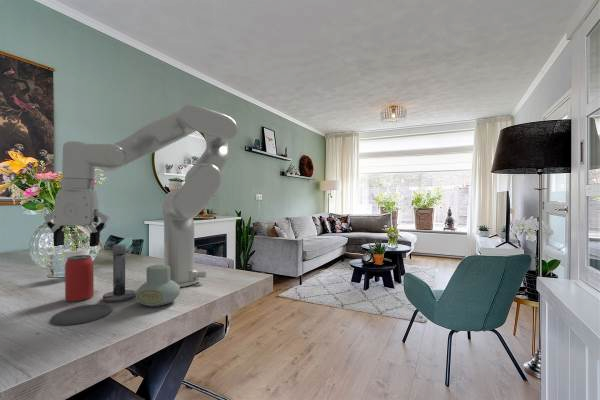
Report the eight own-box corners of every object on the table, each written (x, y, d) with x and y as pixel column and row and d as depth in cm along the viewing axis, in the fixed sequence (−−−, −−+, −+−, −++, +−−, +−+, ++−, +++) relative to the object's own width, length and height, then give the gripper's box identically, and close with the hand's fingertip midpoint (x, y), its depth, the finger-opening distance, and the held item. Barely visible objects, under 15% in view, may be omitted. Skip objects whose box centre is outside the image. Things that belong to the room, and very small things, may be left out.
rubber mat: (120, 306, 81) (120, 303, 81) (92, 324, 69) (92, 322, 69) (73, 307, 81) (73, 304, 81) (37, 326, 69) (37, 323, 69)
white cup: (94, 275, 114) (94, 248, 114) (73, 280, 106) (73, 252, 106) (79, 273, 116) (79, 247, 116) (57, 278, 109) (57, 250, 109)
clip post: (140, 293, 92) (140, 251, 92) (126, 302, 84) (126, 256, 84) (112, 293, 92) (112, 251, 92) (96, 302, 84) (96, 257, 84)
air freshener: (130, 308, 80) (130, 269, 80) (148, 297, 88) (147, 263, 88) (170, 309, 79) (170, 270, 79) (184, 298, 88) (184, 263, 87)
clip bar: (124, 254, 87) (124, 245, 87) (111, 254, 86) (111, 246, 86) (134, 243, 107) (134, 236, 107) (123, 244, 106) (123, 237, 106)
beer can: (99, 295, 90) (98, 254, 90) (80, 303, 84) (80, 259, 84) (78, 294, 91) (78, 254, 91) (58, 302, 84) (58, 258, 84)
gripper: (35, 184, 83) (34, 247, 83) (102, 185, 84) (100, 248, 84) (56, 185, 90) (54, 243, 90) (116, 187, 91) (115, 244, 91)
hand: (76, 245), depth 87 cm, fingers open, 9 cm apart
